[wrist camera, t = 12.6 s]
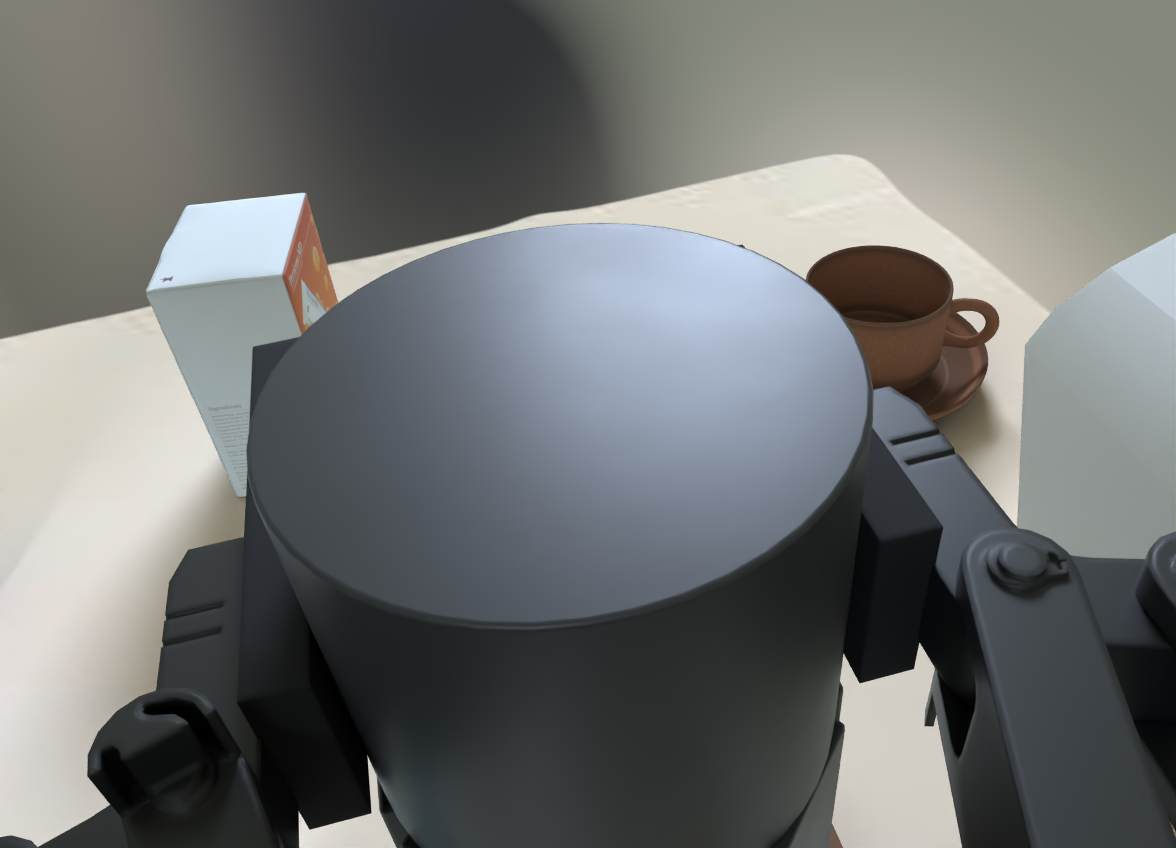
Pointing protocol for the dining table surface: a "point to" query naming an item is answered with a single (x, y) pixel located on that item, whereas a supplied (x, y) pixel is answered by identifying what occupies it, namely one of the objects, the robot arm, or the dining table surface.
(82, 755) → the dining table surface
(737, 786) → the cap
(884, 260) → the cup and saucer
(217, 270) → the small box
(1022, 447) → the soap bottle
